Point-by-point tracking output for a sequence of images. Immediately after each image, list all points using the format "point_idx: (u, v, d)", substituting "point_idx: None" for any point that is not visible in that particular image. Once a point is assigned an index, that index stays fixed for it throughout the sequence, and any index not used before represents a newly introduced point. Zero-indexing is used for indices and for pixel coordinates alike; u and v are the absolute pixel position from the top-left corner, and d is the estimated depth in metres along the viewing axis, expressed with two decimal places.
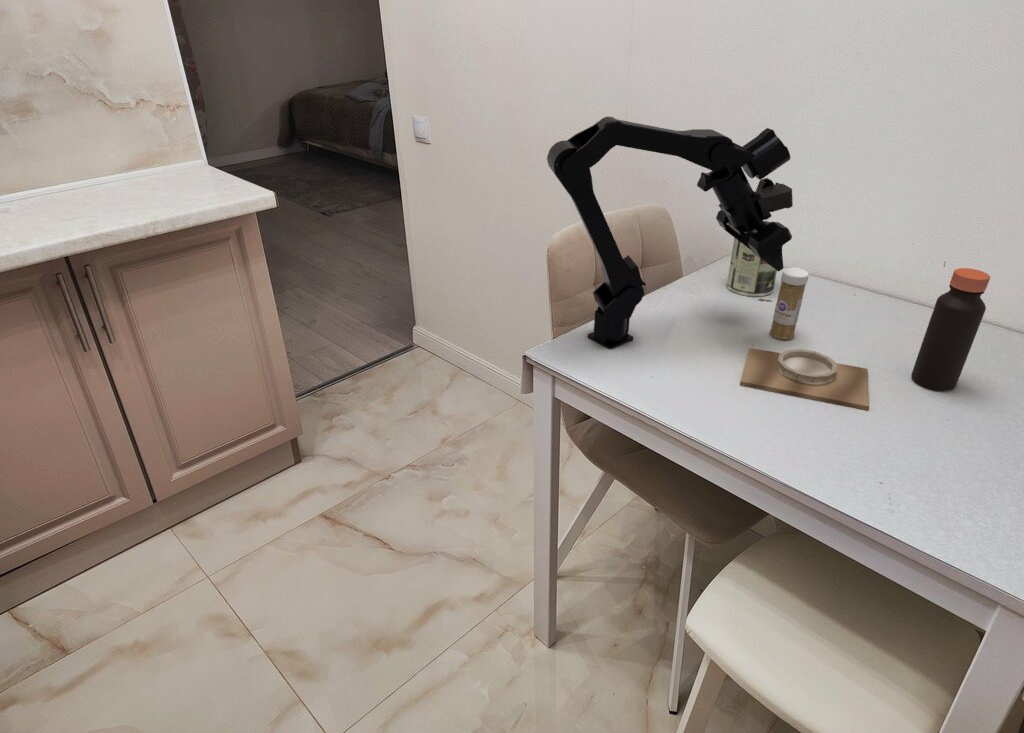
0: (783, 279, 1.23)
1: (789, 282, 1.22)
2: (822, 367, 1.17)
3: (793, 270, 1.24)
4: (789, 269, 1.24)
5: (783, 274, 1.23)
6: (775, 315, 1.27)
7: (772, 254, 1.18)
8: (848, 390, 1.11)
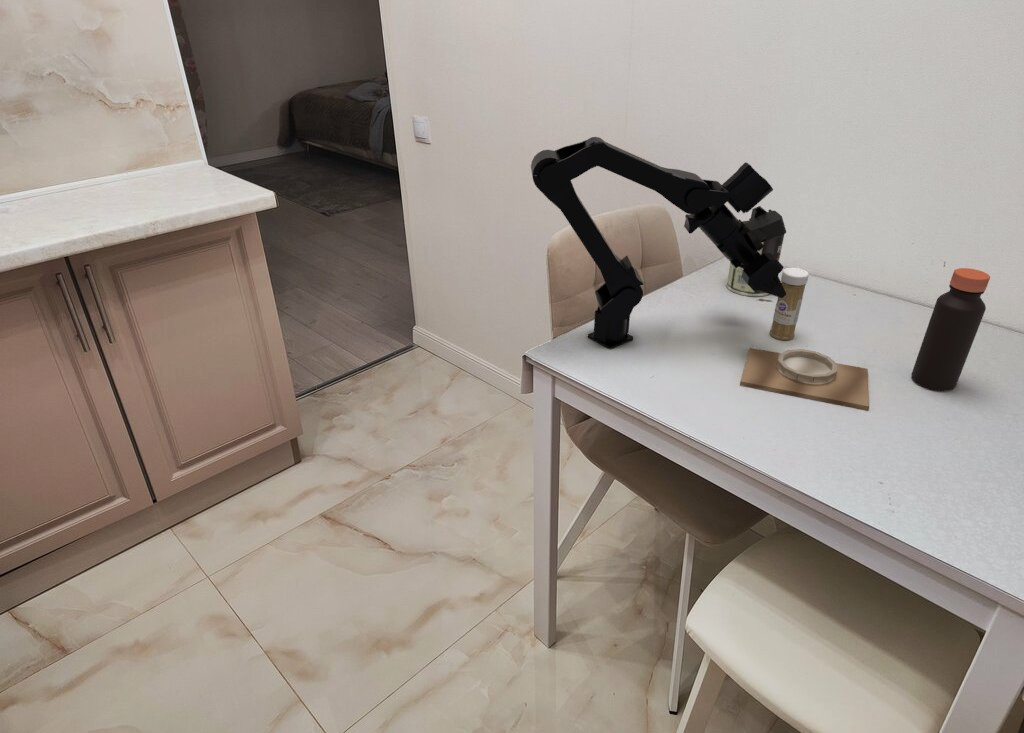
0: (783, 279, 1.23)
1: (789, 282, 1.22)
2: (822, 367, 1.17)
3: (793, 270, 1.23)
4: (789, 269, 1.24)
5: (783, 274, 1.23)
6: (775, 315, 1.27)
7: (770, 284, 1.18)
8: (848, 390, 1.11)
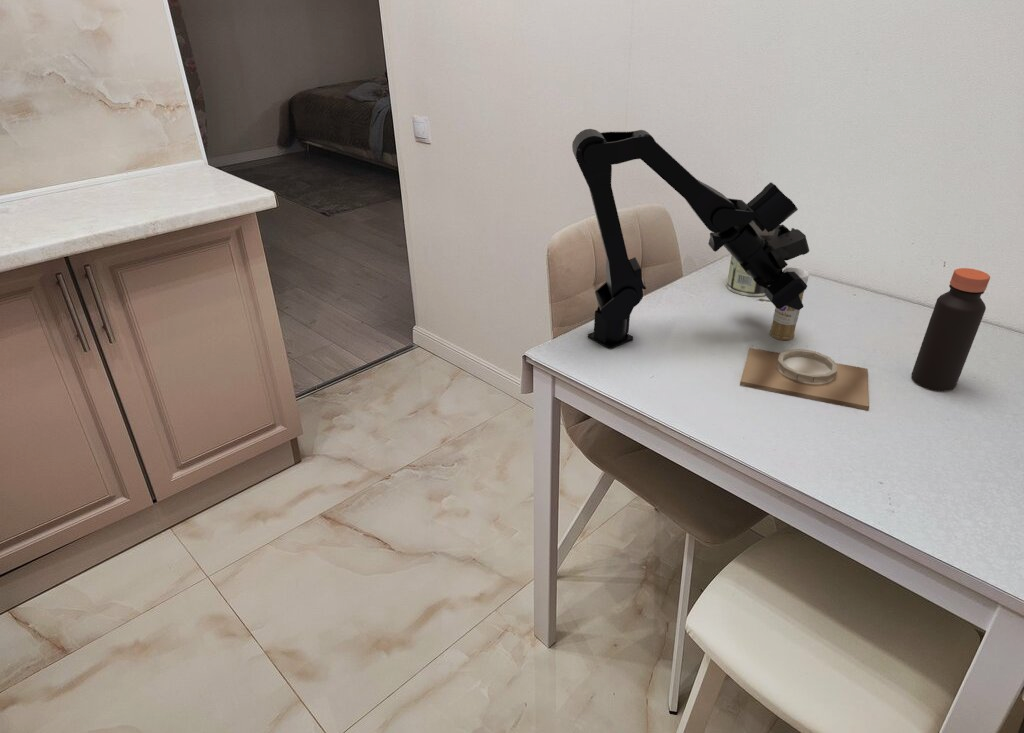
0: None
1: None
2: (822, 367, 1.17)
3: (793, 270, 1.23)
4: (789, 269, 1.24)
5: None
6: (775, 315, 1.27)
7: None
8: (848, 390, 1.11)
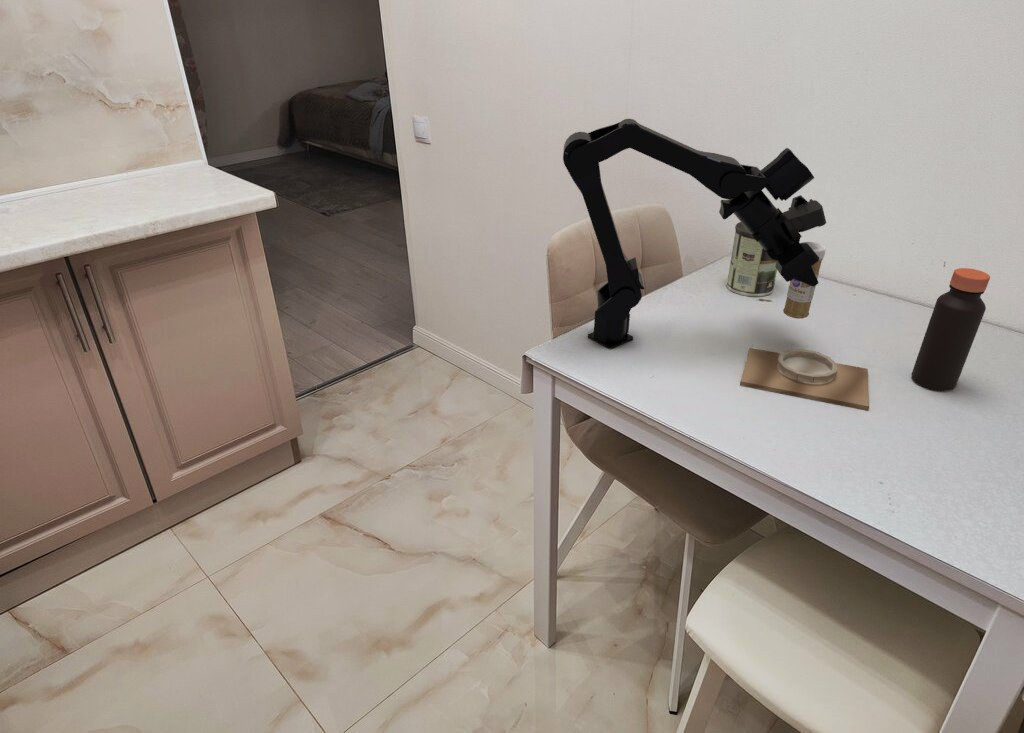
0: None
1: None
2: (822, 367, 1.17)
3: (809, 244, 1.17)
4: None
5: None
6: (789, 292, 1.21)
7: None
8: (848, 390, 1.11)
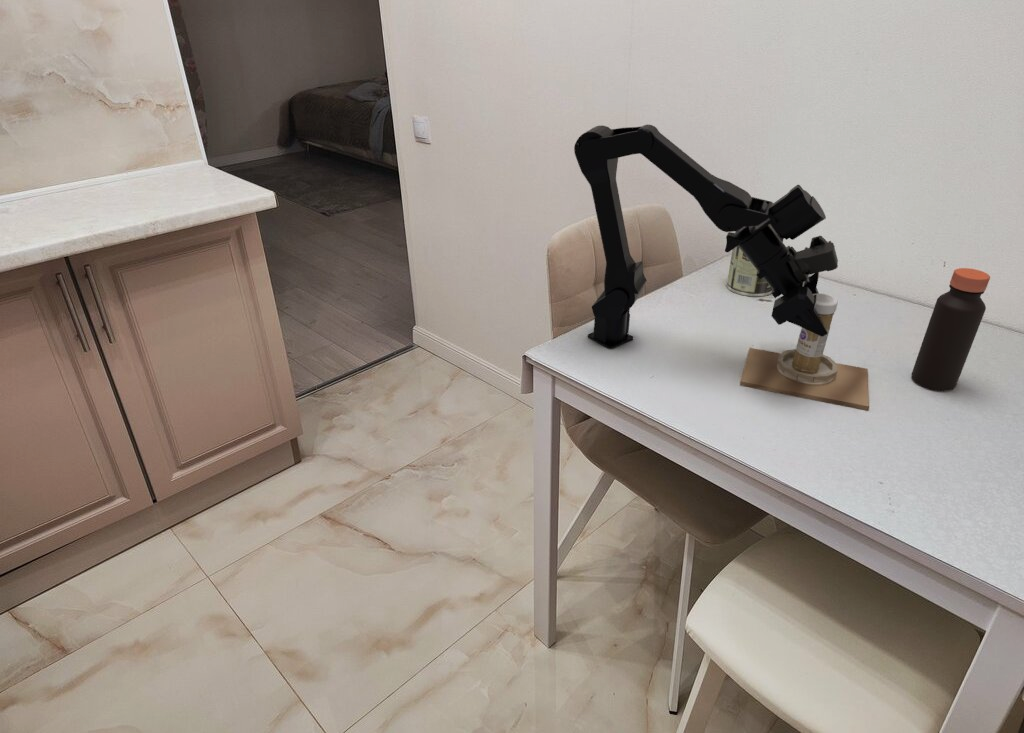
0: None
1: None
2: (822, 367, 1.17)
3: (821, 297, 1.10)
4: (818, 295, 1.11)
5: None
6: (797, 343, 1.15)
7: (805, 317, 1.08)
8: (848, 390, 1.11)
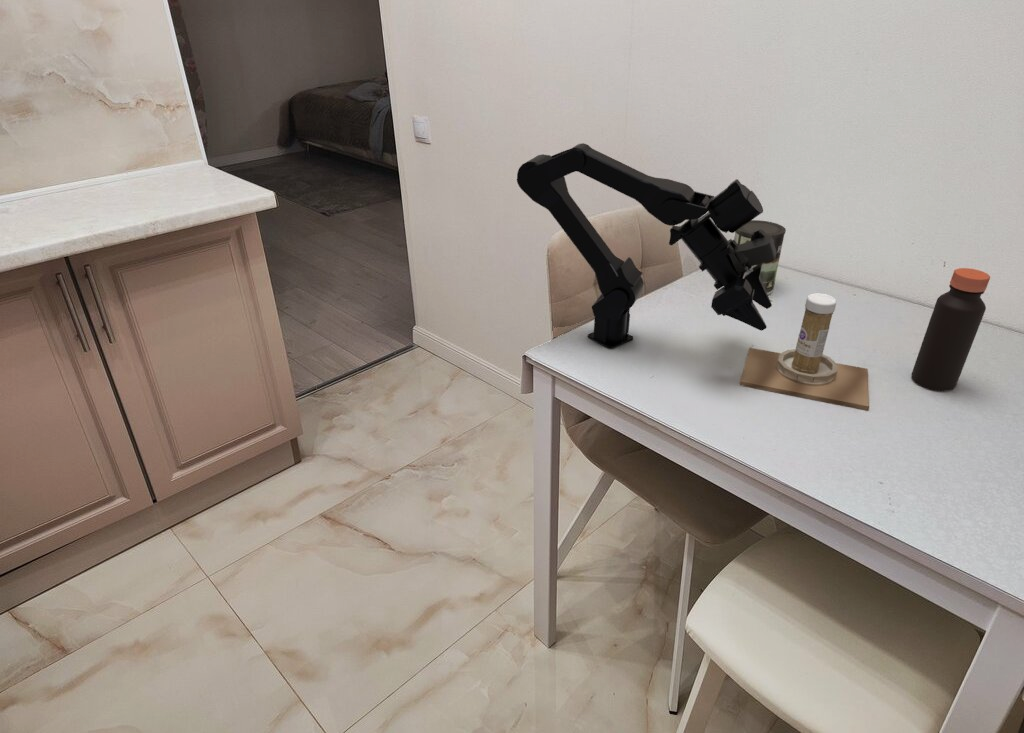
0: (805, 304, 1.11)
1: (809, 308, 1.10)
2: (822, 367, 1.17)
3: (820, 296, 1.10)
4: (816, 294, 1.11)
5: None
6: (797, 343, 1.15)
7: (744, 312, 1.10)
8: (848, 390, 1.11)
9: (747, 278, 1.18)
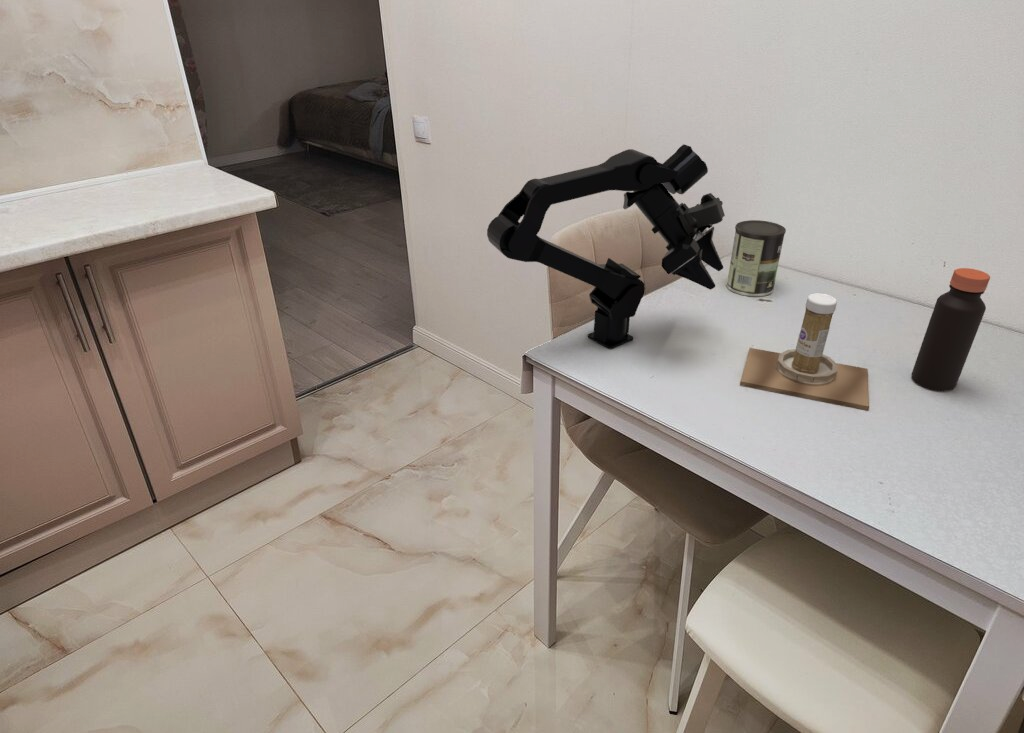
0: (806, 304, 1.11)
1: (810, 308, 1.10)
2: (822, 367, 1.17)
3: (821, 296, 1.10)
4: (817, 294, 1.11)
5: (807, 299, 1.11)
6: (797, 343, 1.15)
7: (694, 271, 1.15)
8: (848, 390, 1.11)
9: (699, 241, 1.23)
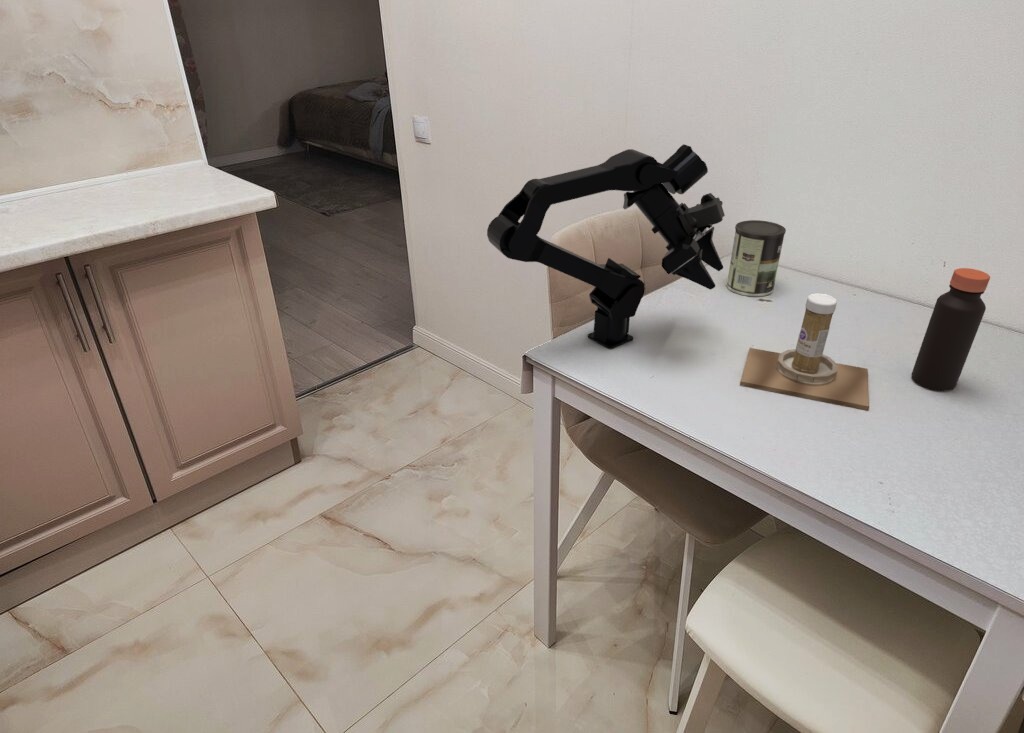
0: (806, 304, 1.11)
1: (810, 308, 1.10)
2: (822, 367, 1.17)
3: (821, 296, 1.10)
4: (817, 295, 1.11)
5: (807, 299, 1.11)
6: (797, 343, 1.15)
7: (694, 271, 1.15)
8: (848, 390, 1.11)
9: (699, 241, 1.23)
